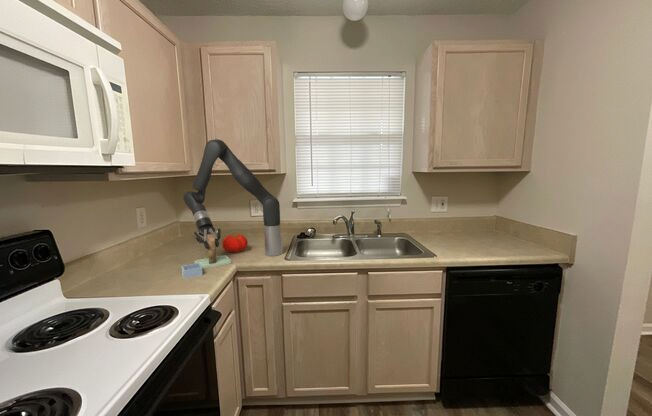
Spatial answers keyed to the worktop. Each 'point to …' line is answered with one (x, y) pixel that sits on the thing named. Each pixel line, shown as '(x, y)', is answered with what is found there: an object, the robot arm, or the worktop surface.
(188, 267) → the pale blue open box
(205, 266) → the tray
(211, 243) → the dowel
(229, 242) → the tomato
